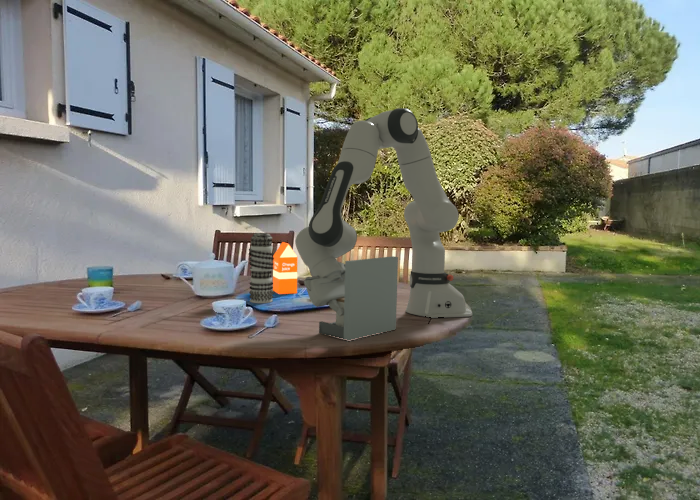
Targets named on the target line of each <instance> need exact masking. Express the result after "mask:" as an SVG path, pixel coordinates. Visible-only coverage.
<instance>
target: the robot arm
mask: <svg viewBox="0 0 700 500" xmlns="http://www.w3.org/2000/svg"><path fill="white" fill-rule="evenodd" d="M388 148H393V149H394V151H395V152H396V154H395V155H396V157H397V158H396V159H397V163H398V165H399V170H400V173H401V177H402V180H403V184H404V188H406V191H408V193H410V195H411V196H412V198H413V201H411V202H409V203H408V204H407V205H406V207H405V209H404V211H403V218H404V221H405V222H406V224H407V227H408V231H409V235H410V242H411V250H412V252H411V253H412V255H411V256H412V257H411V261H412V262H411V270H410V275H409V288H410V291H409V298H408V301H407V306H406V307H405V308H406V309H405V312H406V313H407V314H411V315H415V316H420V317H425V316H426V317H425V318H429V317H431V318H430V319H439V318H438V317H444V318H461V317H462V318H464V317H472V316H473V312H472V310H471V309H470V308H468V307H467V306H466V300H465V296H464V295H463V294H462V293H461V292H460V291H459V289H457V288H456V287H454V286H453V285H452V284H450V282H453V280H454V275H453V274H449V273H447V272H446V271H445V264H446V263H445V262H446V261H445V259H446V249H445V247H444V245H443V243H442V239H441V236H440V233H445V232H448V231H451V230H452V229H454V228H455V227H456V226H457V224H458V221H459V211H458V208H457V207H456V205H454V204H453V203H452V201H451V200H450V199H449V197H448V196H447V194H446V192H445V191H444V188H443V187H442V184H441V182H440V179H439V178H438V174H437V172H436V169H435V165H434V162H433V161H434V160H433V158H432V154H431V150H430V147H429V145H428V142H427V140H426V138H425V135H424V134H423V132H422V129H421V128H419V123H418V120H417V117H416V115H415V114H414V113H413V111H411V110H410V109H408V108H403V107H402V108H401V107H399V108H395V109H393V110H392V109H391V110H386V111H382V112H380V113H379V114H376V115H374V116H372V117H371V116H370V117H368V118H366V119H365V120H357V121H355V122H353V123H352V124H351V126H350V128H349V129H348V131H347V134H346V136H345V138H344V141H343V144H342V148H341V150H340V154H339V158H338V161H337V164H335V166H334V168H333V170H332V171H331V173H330V176H329V179H328V181H327V185H326V187H325V190H324V192H323V195H322V198H321V201H320V204H319V205H318V207H317V209H316V211H315V212H314V214H313V215H312V216H311V218H310V220H309V222H308V226H306V227H304V228H302V229H301V230H300V231H299V232H298V233H297V234H296V237H295V248H296V250H297V252H298V254H299V257H300V258H301V260H302V262H303V264H304V265H305V266H307V268H308V271H309V273H310V276H307V277H305V279H304V281H303V284H304V285H303V286H305V288H306V293H307V295H308V298H309V300H310V301H311V303H312V304H313V306H315V307H316V308H319V307H325V306H328V307H329V308H330V309H331V310H333V312H335V313H336V312H337V314H338V316H343V315H344V308H343V307H342V308H341V307H340V306H339V305H338V304H336V303H337V301H336V299H339V298H345V262H344V263H343V262H341V261H338V258H340V257H342V256H343V255H345V254H348V253H349V252H351V251H352V250H353V249H354V248H355V246H356V244H357V241H358V235H357V231H356V229H355V227H353V226H352V225H351V224H350V223H348V222H347V221H345V220H344V218H343V217H342V209H343V206H344V203H345V202H346V201H345V200H346V197H347V195H348V192H349V189H350V188H351V186H352V185H359V184H363V183H365V182H367V181H368V180H369V179H370V178H371V176H372V174H373V172H374V170H375V165H376V162H377V157H378V152H379V150H381V149H388Z"/></svg>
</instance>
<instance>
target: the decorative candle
mask: <svg viewBox="0 0 700 500" xmlns="http://www.w3.org/2000/svg"><path fill="white" fill-rule="evenodd" d="M250 240H251V241H250V242H251V243H250V248H248V251H249V252H248V255H249V256H250V257H249V258H248V260H249V262H248V264H249V266H250V267H249V270H250V282H249V289H250V291H249V294H250V295H249V296H248V298H249V302H250V303H252V304H269V303H273V298H274V296H273V294H274V291H273V269H274V268H273V265H274V263H273V259H274V258H273V255H274V254H275V253H274V252H273V249H274V248H273V245H272V244H273V237H272V235H271V234H270V233H268V232H256V233H253V235H252V236H251V237H250Z"/></svg>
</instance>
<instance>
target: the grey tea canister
mask: <svg viewBox="0 0 700 500" xmlns="http://www.w3.org/2000/svg"><path fill="white" fill-rule="evenodd" d="M336 301H337V303H336V304H338V305H339V306H340V307H341V308H342V307H343V308H344V298H339V299H336ZM335 322H336V325H338V326H342V327H344V315H343V316H338V314H337V312H336V311H335Z"/></svg>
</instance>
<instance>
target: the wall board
mask: <svg viewBox="0 0 700 500" xmlns="http://www.w3.org/2000/svg"><path fill="white" fill-rule="evenodd" d="M344 264H345V298H344V327H342V326H338V325H336V321H333V322H325V321H319V322H318V323H319V324H318V334H319V333H322V334H321V335H323V334H326V335H331V336H335V337H339V338H343V339H347V340H351V339H355V338H359V337H363V336H367V335H372V334H376V333H381V332H386V331H391V330H395V329H396V330H397V304H398V300H397V299H398V273H399V272H398V271H399V270H398V269H399V256H393V255H392V256H385V257H373V258H372V257H371V258H363V259H353V260H346V261H344ZM396 330H395V331H396ZM391 332H392V331H391ZM326 335H325V336H326Z"/></svg>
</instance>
